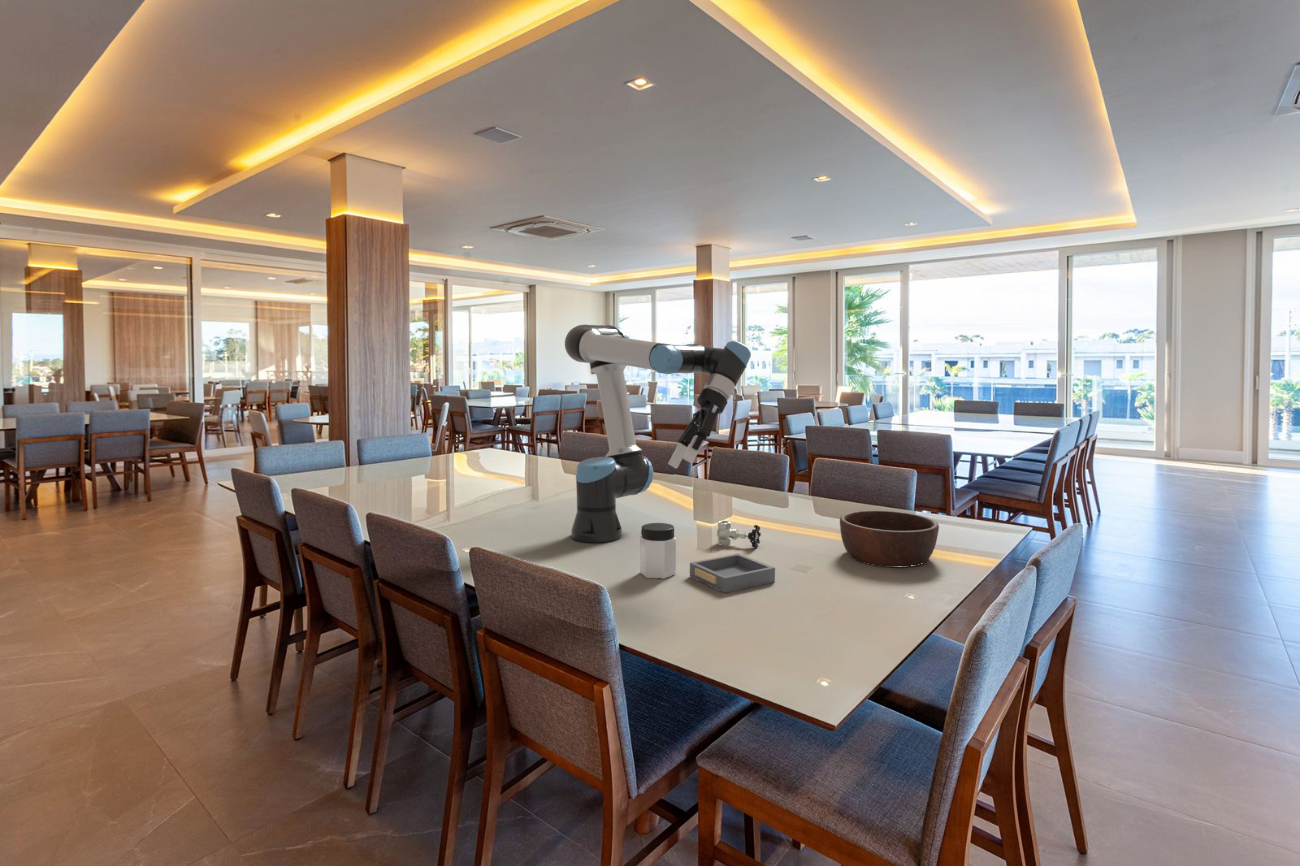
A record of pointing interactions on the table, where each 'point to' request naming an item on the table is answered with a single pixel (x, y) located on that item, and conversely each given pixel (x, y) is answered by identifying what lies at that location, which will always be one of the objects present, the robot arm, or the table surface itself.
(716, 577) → the tray
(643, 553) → the jar
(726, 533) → the valve
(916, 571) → the table surface
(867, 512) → the wooden bowl
